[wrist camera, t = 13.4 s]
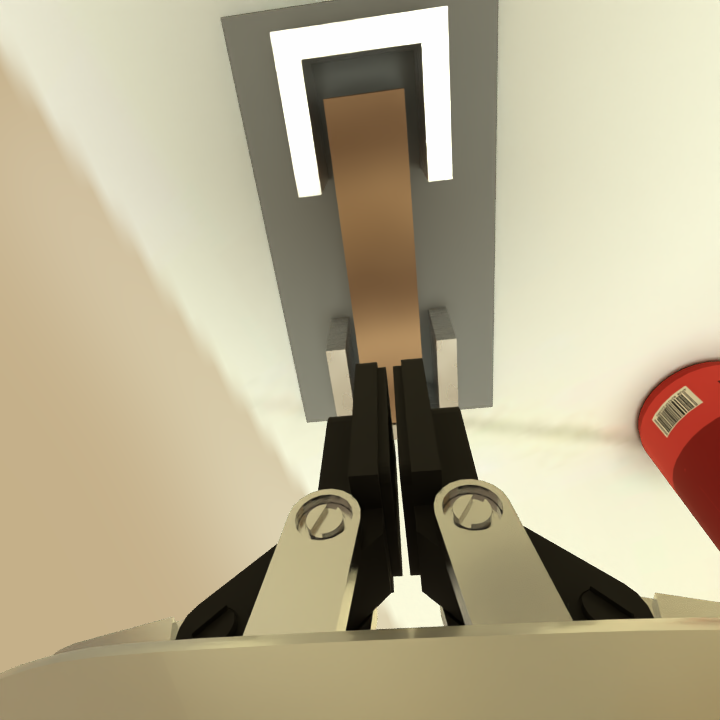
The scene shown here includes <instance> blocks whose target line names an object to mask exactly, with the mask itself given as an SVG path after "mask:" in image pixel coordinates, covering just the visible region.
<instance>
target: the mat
mask: <svg viewBox="0 0 720 720" xmlns="http://www.w3.org/2000/svg"><path fill="white" fill-rule="evenodd" d="M443 6H448V40H449V78H450V115H451V152H452V179H447V180H439V181H431V182H428V180H427V178H426V177H425V175H424V173H423V172H422V170H421V168H420V152H419V135H418V117H417V99H416V81H415V64H414V50H407V51H400V52H393V53H386V54H379V55H372V56H365V57H358V58H351V59H344V60H337V61H330V62H323V63H316V64H312V66H313V73H314V80H315V87H316V94H317V101H318V108H319V115H320V122H321V129H322V136H323V143H324V150H325V157H326V164H327V171H328V178H329V180H328V182H327V184H326V186H325V188H324V191H323V193H322V195H315V196H307V197H299V196H298V191H297V185H296V179H295V173H294V168H293V162H292V156H291V151H290V145H289V139H288V134H287V128H286V122H285V116H284V111H283V105H282V99H281V94H280V88H279V82H278V76H277V71H276V65H275V59H274V54H273V48H272V42H271V37H270V32H275V31H282V30H289V29H296V28H302V27H309V26H316V25H322V24H329V23H336V22H343V21H349V20H356V19H363V18H369V17H376V16H383V15H390V14H396V13H403V12H410V11H416V10H423V9H430V8H437V7H443ZM221 22H222V27H223V32H224V36H225V41H226V46H227V50H228V55H229V60H230V64H231V69H232V74H233V78H234V83H235V88H236V92H237V97H238V102H239V107H240V111H241V116H242V121H243V125H244V130H245V135H246V139H247V144H248V149H249V153H250V158H251V163H252V167H253V172H254V177H255V181H256V186H257V191H258V195H259V200H260V205H261V210H262V214H263V219H264V224H265V228H266V233H267V238H268V242H269V247H270V252H271V256H272V261H273V266H274V270H275V275H276V280H277V284H278V289H279V294H280V298H281V303H282V308H283V313H284V317H285V322H286V327H287V331H288V336H289V341H290V345H291V350H292V355H293V359H294V364H295V369H296V373H297V378H298V383H299V387H300V392H301V397H302V402H303V406H304V411H305V416H306V420H307V422H319V421H328V418H329V417H336V416H337V413H336V407H335V402H334V396H333V390H332V385H331V379H330V373H329V368H328V362H327V356H326V346H327V341H328V335H329V330H330V324H331V319H333V318H343V317H349V324H350V331H351V338H352V345H353V352H354V359H355V364H360V362H359V355H358V347H357V340H356V333H355V326H354V318H353V311H352V304H351V297H350V289H349V282H348V275H347V268H346V261H345V253H344V246H343V239H342V232H341V224H340V217H339V210H338V203H337V196H336V188H335V181H334V174H333V167H332V159H331V152H330V145H329V138H328V131H327V123H326V116H325V109H324V102H323V99H327V98H331V97H339V96H346V95H353V94H361V93H368V92H375V91H383V90H390V89H397V88H404V93H405V108H406V123H407V138H408V153H409V169H410V184H411V199H412V214H413V229H414V244H415V259H416V274H417V289H418V304H419V319H420V334H421V349H422V359H423V365H424V371H425V376H426V382H427V383H432V365H431V348H430V330H429V312H428V309H432V308H442V307H446V309H447V312H448V315H449V318H450V321H451V324H452V327H453V330H454V333H455V336H456V339H457V376H458V407H459V408H460V410H461V409H472V408H484V407H492V406H493V337H494V268H495V199H496V130H497V61H498V0H333V1H326V2H319V3H313V4H306V5H300V6H293V7H287V8H280V9H274V10H267V11H261V12H254V13H247V14H241V15H234V16H228V17H221Z"/></svg>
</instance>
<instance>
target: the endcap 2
mask: <svg viewBox="0 0 720 720" xmlns="http://www.w3.org/2000/svg"><path fill="white" fill-rule="evenodd" d="M428 312H429V330H430V348H431V365H432V383H427V388H428V394H429V400H430V406H431V409H433V408H445V407H457V406H458V376H457V339H456V336H455V333H454V330H453V327H452V324H451V321H450V318H449V315H448V312H447V309H446V307H442V308H432V309H428ZM326 356H327V362H328V368H329V373H330V379H331V385H332V390H333V396H334V402H335V407H336V413H337V416H348V415H352V409H353V393H354V378H355V359H354V352H353V345H352V338H351V331H350V324H349V317H343V318H333V319H331V324H330V330H329V335H328V341H327V346H326ZM392 426H393V435H394V440H395V439H397V425H396V423H392Z"/></svg>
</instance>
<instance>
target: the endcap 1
mask: <svg viewBox="0 0 720 720" xmlns="http://www.w3.org/2000/svg"><path fill="white" fill-rule="evenodd" d="M270 37H271V42H272V48H273V54H274V59H275V65H276V71H277V76H278V82H279V88H280V94H281V99H282V105H283V111H284V116H285V122H286V128H287V134H288V139H289V145H290V151H291V156H292V162H293V168H294V173H295V179H296V185H297V191H298V196H299V197H307V196H315V195H322V193H323V191H324V188H325V186H326V184H327V182H328V180H329V178H328V171H327V164H326V157H325V150H324V143H323V136H322V129H321V122H320V115H319V108H318V101H317V94H316V87H315V80H314V73H313V66H312V64H316V63H323V62H330V61H337V60H344V59H351V58H358V57H365V56H372V55H379V54H386V53H393V52H400V51H407V50H414V64H415V81H416V99H417V117H418V135H419V152H420V168H421V170H422V172H423V173H424V175H425V177H426V178H427V180H428V182H431V181H439V180H447V179H452V152H451V115H450V78H449V40H448V6H443V7H437V8H430V9H423V10H416V11H410V12H403V13H396V14H390V15H383V16H376V17H369V18H363V19H356V20H349V21H343V22H336V23H329V24H322V25H316V26H309V27H302V28H296V29H289V30H282V31H275V32H270Z"/></svg>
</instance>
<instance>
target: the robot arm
mask: <svg viewBox="0 0 720 720" xmlns="http://www.w3.org/2000/svg"><path fill="white" fill-rule="evenodd" d="M393 379H394V394H395V410H396V425H397V441H398V457H399V471H400V482H401V491H402V501H403V510H404V519H405V529H406V538H407V547H408V557H409V566H410V575H421V585H422V592H424V593H425V594H426V595H427V596H429V597H430V598H431V599H433V600H434V601H435V602H436V603H438V604H439V605H440V610H441V617H442V621H443V624H444V626H442V627H420V628H397V629H376V626H377V619H378V618H377V617H378V616H377V615H378V613H377V607H378V606H379V605H380V604H381V603H382V602H383V601H384V600H385V599H386V598H387V597H388V596H389V595H390V594H391V593H393V592H394V583H393V576H402V555H401V538H400V520H399V503H398V485H397V468H396V454H395V444H394V435H393V426H392V417H391V408H390V398H389V389H388V380H387V371H386V367H379V368H378V364H377V362H371V363H360V364H355V378H354V393H353V409H352V415H348V416H336V417H329V418H328V421H327V428H326V435H325V443H324V450H323V458H322V465H321V473H320V480H319V488H318V491H315V492H312V493H310V494H308V495H306V496H305V497H303V498H301V499H300V500H299V501H298V502H297V503H296V504H295V505H294V506H293V508H292V510H291V511H290V513H289V515H288V517H287V520H286V523H285V525H284V528H283V531H282V533H281V536H280V539H279V541H278V544H276V545H275V546H274V547H273V548H271V549H270V550H269V551H268V552H266V553H265V554H264V555H262V556H261V557H260V558H258V559H257V560H256V561H255V562H253V563H252V564H251V565H249V566H248V567H247V568H246V569H244V570H243V571H242V572H240V573H239V574H238V575H236V576H235V577H234V578H233V579H231V580H230V581H229V582H227V583H226V584H225V585H224V586H222V587H221V588H220V589H219V590H217V591H216V592H215V593H213V594H212V595H211V596H209V597H208V598H207V599H206V600H204V601H203V602H202V603H200V604H199V605H198V606H197V607H196V608H195V609H194V610H193V611H192V612H190V614H188V615H187V617H186V618H185V620H182V621H178V622H176V621H175V620H174V617H170V618H167V619H163V620H159V621H155V622H152V623H148V624H144V625H141V626H137V627H133V628H130V629H126V630H122V631H119V632H115V633H111V634H108V635H104V636H100V637H97V638H93V639H89V640H86V641H82V642H78V643H75V644H72V645H70V646H67V647H65V648H63V649H61V650H59V651H58V652H56V653H55V654H54V655H52V656H49V657H46V658H42V659H39V660H35V661H32V662H29V663H26V664H22V665H20V666H17V667H15V668H12V669H10V670H8V671H5V672H3V673H1V674H0V720H720V602H714V601H707V600H700V599H694V598H687V597H681V596H674V595H667V594H661V593H655V595H654V598H653V599H652V598H645V597H640V596H639V595H638V594H637V593H636V592H635V591H633V590H632V589H631V588H629V587H628V586H627V585H625V584H624V583H622V582H620V581H618V580H617V579H615V578H613V577H612V576H610V575H608V574H606V573H605V572H603V571H601V570H599V569H598V568H596V567H594V566H592V565H591V564H589V563H587V562H585V561H584V560H582V559H580V558H578V557H577V556H575V555H573V554H571V553H570V552H568V551H566V550H564V549H563V548H561V547H559V546H557V545H556V544H554V543H552V542H550V541H549V540H547V539H545V538H543V537H542V536H540V535H538V534H537V533H535V532H533V531H531V530H530V529H528V528H526V527H524V526H523V525H522V523H521V521H520V519H519V517H518V516H517V514H516V512H515V510H514V508H513V506H512V504H511V502H510V500H509V499H508V498H507V496H506V495H505V494H504V492H503V491H501V490H500V489H499V488H497V487H496V486H494V485H492V484H490V483H487V482H485V481H481V480H478V477H477V473H476V469H475V465H474V461H473V458H472V454H471V450H470V446H469V442H468V438H467V434H466V430H465V426H464V422H463V419H462V415H461V411H460V408H459V407H458V406H457V407H445V408H433V409H431V406H430V400H429V394H428V388H427V382H426V376H425V371H424V365H423V359H422V358H415V359H404V360H401V366H393Z"/></svg>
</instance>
